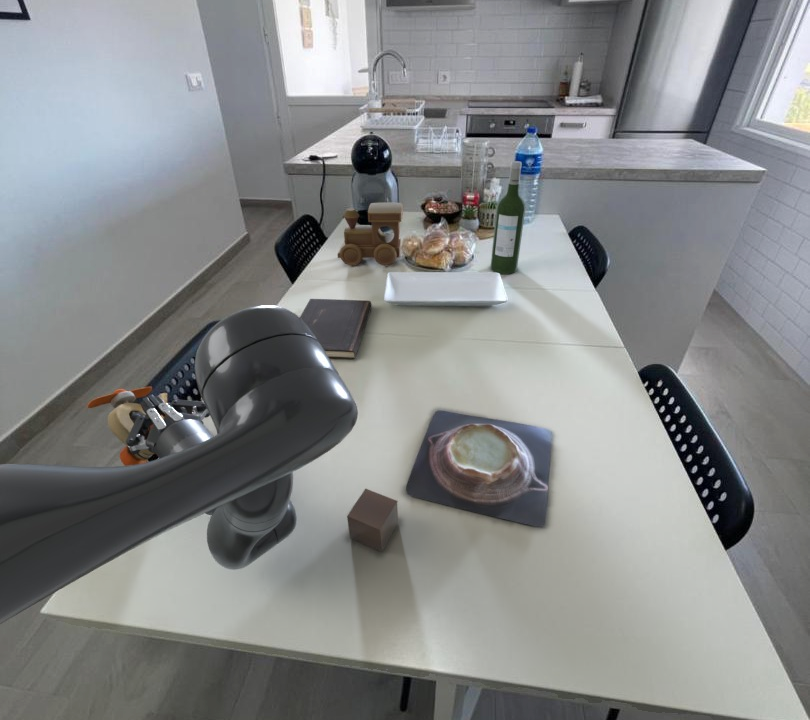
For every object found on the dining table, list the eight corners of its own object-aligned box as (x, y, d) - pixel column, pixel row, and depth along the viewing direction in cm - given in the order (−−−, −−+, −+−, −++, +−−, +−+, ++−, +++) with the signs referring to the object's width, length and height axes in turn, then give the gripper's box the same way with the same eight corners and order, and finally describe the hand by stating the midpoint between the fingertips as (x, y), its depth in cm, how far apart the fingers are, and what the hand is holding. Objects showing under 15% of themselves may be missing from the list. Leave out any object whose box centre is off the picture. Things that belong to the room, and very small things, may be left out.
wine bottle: (515, 263, 137) (529, 158, 120) (518, 274, 131) (534, 165, 113) (489, 263, 138) (500, 158, 120) (491, 274, 131) (502, 165, 114)
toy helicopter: (134, 480, 71) (62, 421, 68) (178, 435, 91) (124, 388, 88) (172, 446, 71) (102, 385, 68) (207, 408, 91) (154, 360, 88)
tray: (507, 312, 113) (508, 300, 111) (383, 311, 114) (382, 299, 112) (498, 283, 126) (499, 271, 124) (387, 282, 128) (387, 271, 126)
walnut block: (381, 552, 60) (380, 530, 57) (350, 538, 62) (346, 516, 59) (398, 522, 64) (397, 500, 61) (367, 510, 66) (365, 488, 63)
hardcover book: (284, 356, 98) (282, 347, 97) (311, 306, 117) (310, 298, 115) (355, 359, 97) (354, 350, 96) (371, 308, 116) (371, 300, 114)
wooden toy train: (404, 253, 146) (403, 201, 136) (402, 267, 136) (401, 212, 127) (343, 253, 146) (337, 201, 137) (337, 267, 137) (331, 213, 127)
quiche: (551, 431, 78) (555, 414, 76) (544, 530, 62) (549, 512, 60) (435, 409, 83) (436, 392, 81) (402, 495, 68) (402, 477, 65)
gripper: (230, 415, 67) (181, 365, 77) (138, 464, 59) (96, 402, 69) (241, 449, 71) (193, 398, 81) (156, 499, 64) (114, 436, 73)
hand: (148, 400), depth 75 cm, fingers closed
